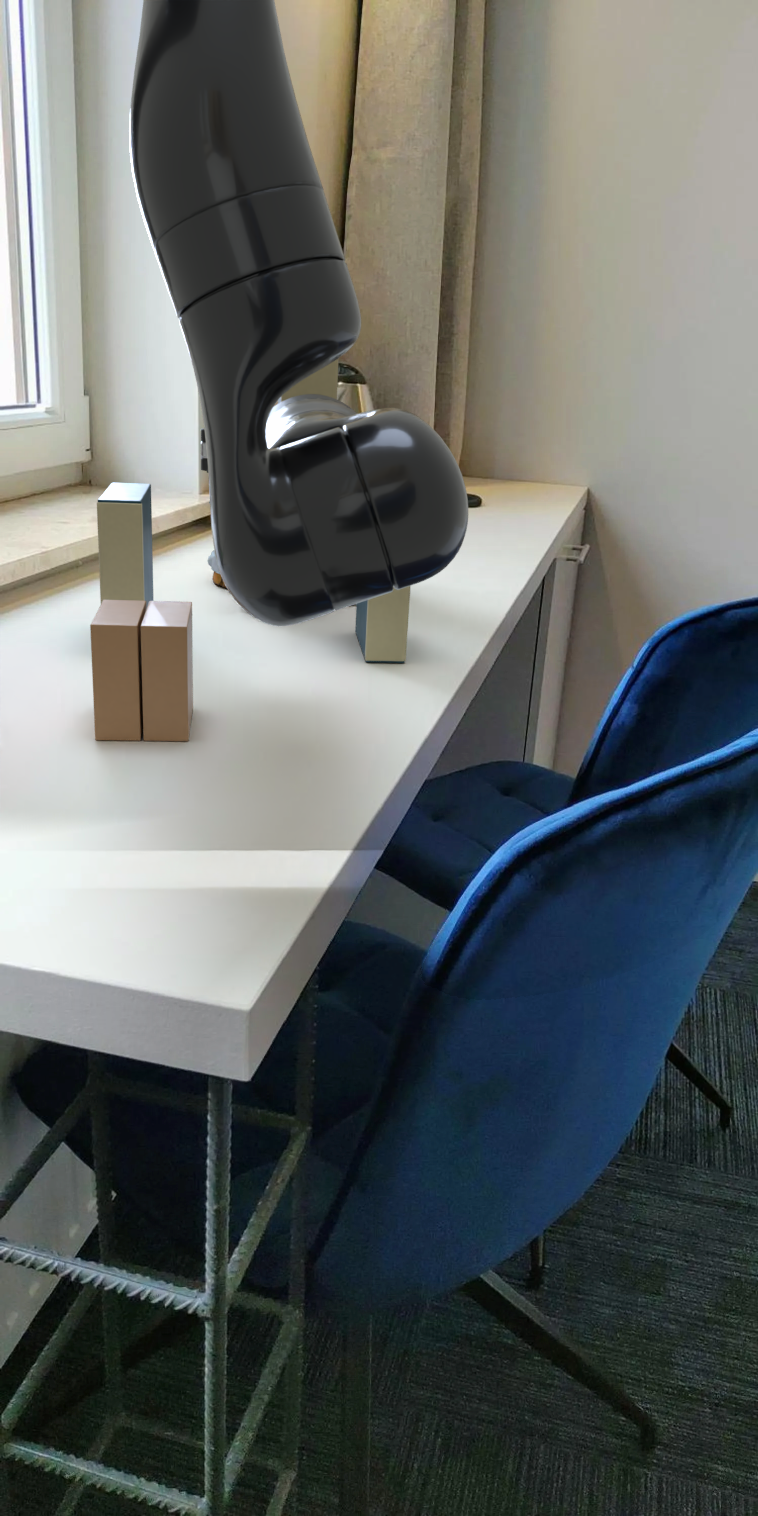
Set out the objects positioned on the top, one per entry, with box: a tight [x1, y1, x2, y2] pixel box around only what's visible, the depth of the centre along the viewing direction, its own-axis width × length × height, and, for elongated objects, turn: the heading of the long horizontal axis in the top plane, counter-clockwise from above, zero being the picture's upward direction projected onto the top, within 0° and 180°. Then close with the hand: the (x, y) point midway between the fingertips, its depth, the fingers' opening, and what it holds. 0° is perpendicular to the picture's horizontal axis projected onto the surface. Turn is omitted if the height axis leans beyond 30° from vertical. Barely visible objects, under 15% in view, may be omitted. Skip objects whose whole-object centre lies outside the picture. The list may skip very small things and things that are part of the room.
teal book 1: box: [96, 482, 155, 609], centre depth 95 cm, size 4×10×13 cm, turn 6°
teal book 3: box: [354, 586, 411, 664], centre depth 98 cm, size 4×10×13 cm, turn 6°
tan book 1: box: [89, 600, 146, 742], centre depth 77 cm, size 3×7×8 cm, turn 6°
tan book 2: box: [141, 600, 194, 742], centre depth 77 cm, size 3×7×8 cm, turn 6°
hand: (302, 439), depth 77 cm, fingers closed on teal book 2, 3 cm apart
